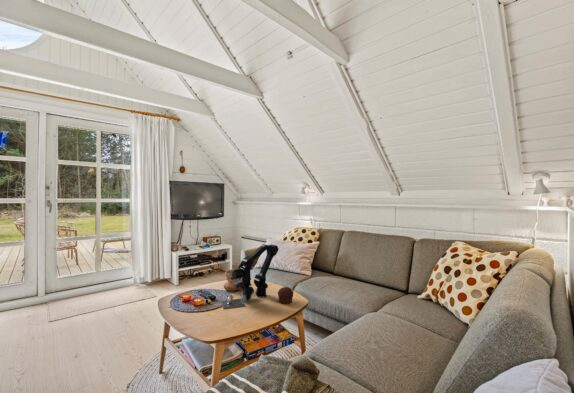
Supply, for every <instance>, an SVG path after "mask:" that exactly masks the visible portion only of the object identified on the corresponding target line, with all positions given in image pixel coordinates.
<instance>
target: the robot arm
mask: <svg viewBox="0 0 574 393" xmlns="http://www.w3.org/2000/svg"><path fill="white" fill-rule="evenodd" d="M265 252H266V257H265V258H264V260H263V264H262V266H261V268H260V271H259V273H258V274H257V273H256V274H255V276H254V278H253V283H254V285H255V288H256V289H255V291H256V293H255V296H257V298H264V297H268V295H267V289H268V288H269V285H268V283H267V282H266V281H267V273H268V271H269V268H270V266H271V264H272V261H273V258H274V257H275V256H276V255H277V254H278V252H279V247H278V245H276V244H265V243H263V244H261V245H260V246H259V247H258V248H257V249H256V250H255V251H253V252H252V253H251V254H250V255H247V256H245V257H244V258H242V259H241V261H240V263H239V265H238V267H237V268H234V269H233V270H234V271H233V272H232V277H233V279H239V278H241V280H239V281H237V282H235V283H234V285H235V287H236V289H238V288H239V287H241V288H240V289H242V292H244V293H245V294H246V298H247V301H249V299H250V296H251V297H252V294H253V293H254V288H253V286H252V284H251V280H252V278H251V277H252V276H251V275H252V274H251V273H252V272H251V271H252V270H254V268H253V267H252V266H253V264H254V263H255V261H256V260H257V259H258V258H259V257H260V256H261V255H262V254H264V253H265ZM249 302H250V301H249Z"/></svg>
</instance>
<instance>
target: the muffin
mask: <svg viewBox="0 0 574 393" xmlns="http://www.w3.org/2000/svg"><path fill="white" fill-rule="evenodd" d="M277 294H278V295H277V297H278V302H279V303H281V305H290V303H291V304H292V303H293V297H294V291H293V289H292V288H290V287H288V286H283V287H281V288H280V289H278V291H277Z"/></svg>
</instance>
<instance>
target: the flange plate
mask: <svg viewBox="0 0 574 393" xmlns="http://www.w3.org/2000/svg"><path fill="white" fill-rule="evenodd" d="M220 303H221V306H222V310H225V309H233V308H241V307H245V302H243V301H242V300H241V297H240V298H234V299H232V296H228V297H227V300H221V301H220Z"/></svg>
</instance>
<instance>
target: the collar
mask: <svg viewBox="0 0 574 393" xmlns="http://www.w3.org/2000/svg"><path fill="white" fill-rule="evenodd" d="M240 296H241V297H240V298H241V300H242V301H243V303H249V302H252V295H251V296H250V299H249V301H247V298H246V294H245V293H244V292H243V291H241V293H240Z"/></svg>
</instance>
